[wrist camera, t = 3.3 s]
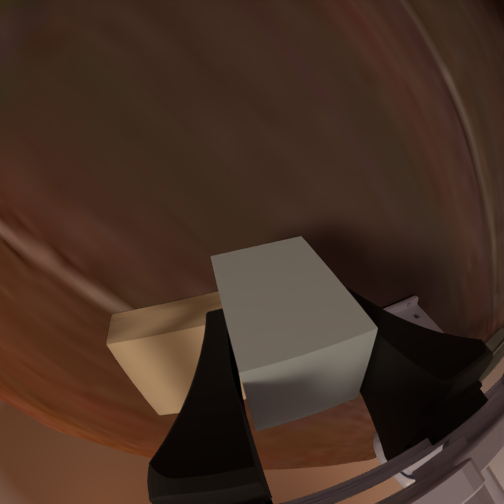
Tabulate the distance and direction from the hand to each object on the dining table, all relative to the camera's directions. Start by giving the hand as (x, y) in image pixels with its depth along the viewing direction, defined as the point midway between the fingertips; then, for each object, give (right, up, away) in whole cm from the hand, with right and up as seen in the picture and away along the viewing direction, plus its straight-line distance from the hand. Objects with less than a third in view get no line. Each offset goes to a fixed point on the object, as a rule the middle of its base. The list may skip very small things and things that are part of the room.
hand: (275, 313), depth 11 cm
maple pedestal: (-6, -5, +10) cm, 13 cm away
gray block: (-1, +1, +2) cm, 2 cm away
